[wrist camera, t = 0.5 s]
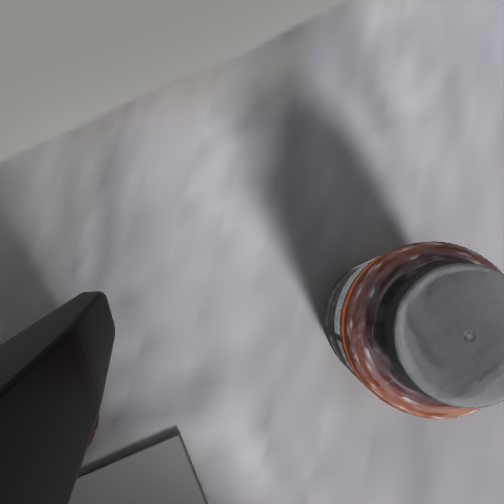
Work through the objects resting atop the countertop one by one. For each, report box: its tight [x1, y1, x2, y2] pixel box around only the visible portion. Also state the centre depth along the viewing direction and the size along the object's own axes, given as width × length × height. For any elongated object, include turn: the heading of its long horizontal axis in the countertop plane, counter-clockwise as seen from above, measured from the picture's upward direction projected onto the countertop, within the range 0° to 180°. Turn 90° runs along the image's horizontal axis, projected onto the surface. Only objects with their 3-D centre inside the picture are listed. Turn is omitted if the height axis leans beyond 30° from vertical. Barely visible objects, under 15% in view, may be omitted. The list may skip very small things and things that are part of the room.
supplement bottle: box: [324, 241, 504, 419], centre depth 18 cm, size 6×6×11 cm
